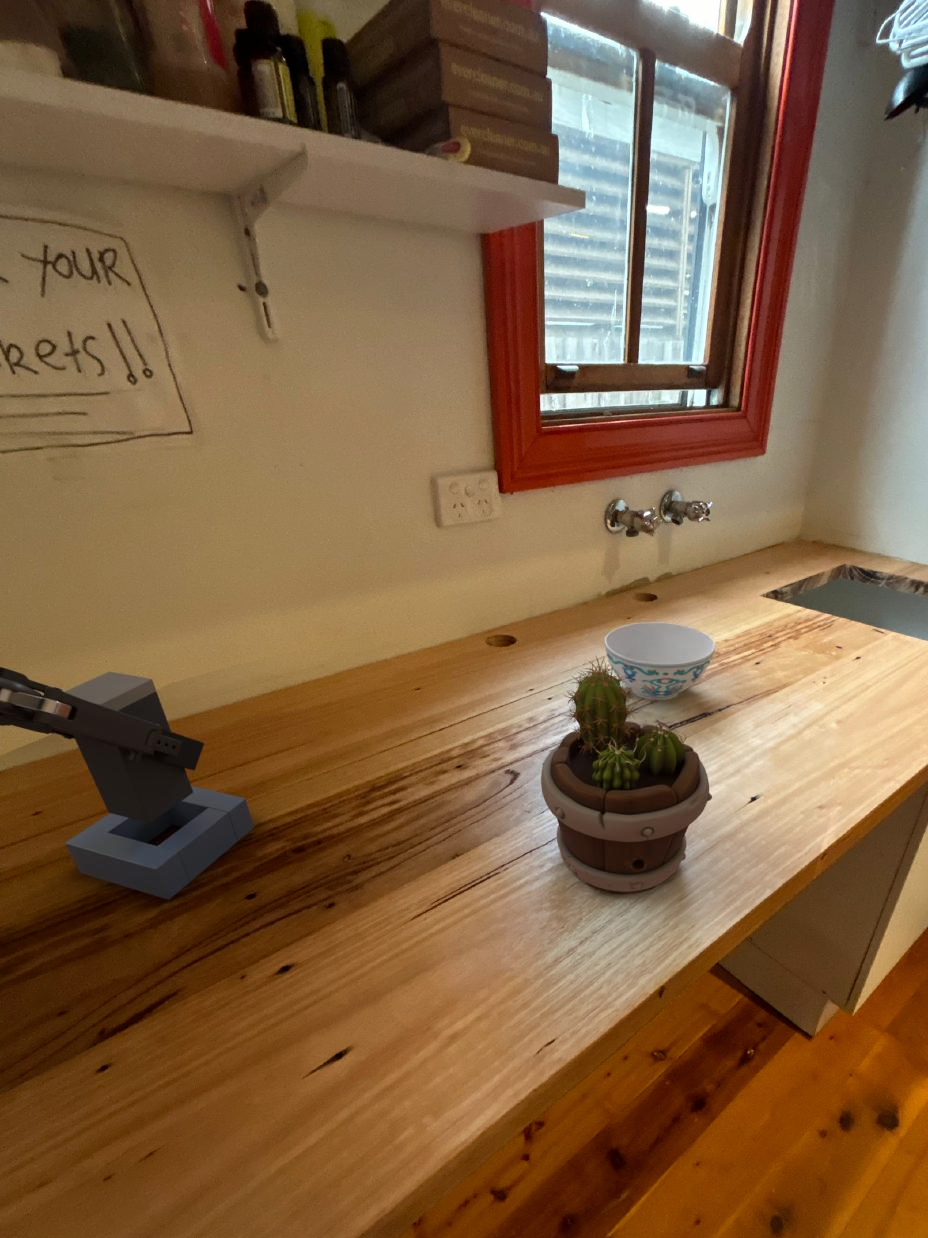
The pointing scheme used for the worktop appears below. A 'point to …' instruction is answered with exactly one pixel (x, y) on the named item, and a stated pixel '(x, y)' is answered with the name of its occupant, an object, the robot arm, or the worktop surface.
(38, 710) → the robot arm
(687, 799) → the flowerpot
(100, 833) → the block
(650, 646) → the chinaware
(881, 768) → the worktop surface
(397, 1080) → the worktop surface
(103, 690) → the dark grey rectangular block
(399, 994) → the worktop surface
